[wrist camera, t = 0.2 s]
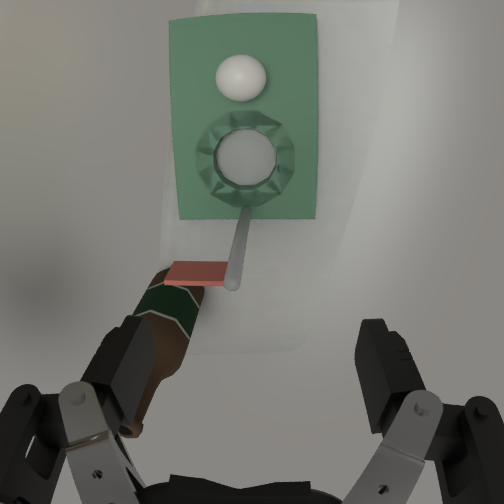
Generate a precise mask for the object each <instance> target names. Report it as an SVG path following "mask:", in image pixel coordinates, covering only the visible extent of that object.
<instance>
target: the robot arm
mask: <svg viewBox="0 0 504 504" xmlns="http://www.w3.org/2000/svg"><path fill="white" fill-rule="evenodd" d="M155 359H156V346H155V342H154V338H153V335H152V331H151V327H150V323H149V320H148V318H147V317H146V316H134V315H128V316H126V318H125V320H124V322H123V323H122V325H121V327H115V328H114V329H112V330H111V331H110V332H109V333H108V334H107V335H106V336H105V338H104V339H103V341H102V342H101V346H99V348H98V350H97V351H96V354H95V355H94V356H93V358H92V360H91V362H90V364H89V365H88V367H87V369H86V371H85V373H84V374H83V377H82V378H81V380H80V381H78V382H73V383H70V384H68V385H67V386H66V387H64V388H63V390H62V391H61V392H60V393H59V394H42V395H41V393H40V392H39V390H38V389H37V387H36V386H34V385H31V384H24V385H21V386H19V387H17V388H16V389H15V390H14V391H13V392H12V393H11V395H10V397H9V398H8V400H7V402H6V404H5V406H4V407H3V409H2V411H1V413H0V504H51V500H52V497H53V494H54V490H55V488H56V484H57V481H58V478H59V475H60V472H61V469H62V466H63V463H64V461H65V458H66V456H67V459H68V463H69V466H70V469H71V473H72V475H73V479H74V482H75V485H76V488H77V490H78V493H79V496H80V499H81V501H82V504H406V502H407V500H408V498H409V496H410V494H411V492H412V490H413V488H414V486H415V484H416V482H417V481H418V478H419V476H420V474H421V472H422V470H423V468H424V465H425V462H424V461H423V460H432V461H434V462H435V466H436V471H437V475H438V480H439V485H440V490H441V496H442V501H443V504H504V423H503V420H502V418H501V415H500V413H499V411H498V408H497V407H496V405H495V403H493V401H491V400H490V399H488V398H486V397H483V396H475V397H472V398H471V399H469V400H468V401H467V403H466V404H465V406H460V405H450V404H444V403H442V402H441V400H440V399H439V397H438V396H436V395H435V394H434V393H432V392H429V391H427V390H426V388H425V386H424V383H423V381H422V379H421V376H420V374H419V371H418V369H417V367H416V364H415V362H414V360H413V358H412V355H411V353H410V352H409V348H408V346H407V344H406V342H405V340H404V339H403V338H402V337H401V336H400V335H399V334H398V333H397V332H396V331H390V332H389V331H388V328H387V326H386V324H385V321H384V320H383V319H364V320H363V321H362V323H361V327H360V331H359V336H358V340H357V344H356V348H355V366H356V369H357V373H358V377H359V381H360V385H361V389H362V393H363V397H364V402H365V406H366V410H367V414H368V418H369V423H370V428H371V432H372V434H375V433H382V436H383V440H382V442H381V444H380V445H379V447H378V449H377V450H376V452H375V454H374V456H373V457H372V459H371V460H370V462H369V464H368V465H367V467H366V468H365V470H364V471H363V473H362V474H361V476H360V478H359V479H358V480H357V482H356V483H355V485H354V486H353V488H352V489H351V491H350V492H349V493H348V495H347V496H346V498H345V499H344V500H343V501H341V500H340V499H338V498H337V497H335V496H333V495H331V494H328V493H326V492H323V491H319V490H315V489H311V487H310V486H311V485H310V481H304V482H274V483H269V484H265V485H260V486H255V487H249V488H243V489H236V488H232V487H229V486H225V485H222V484H219V483H216V482H212V481H209V480H206V479H203V478H194V477H186V476H178V475H172V474H171V475H170V479H169V482H164V483H158V484H154V485H151V486H148V487H146V485H145V484H144V482H143V480H142V479H141V477H140V475H139V474H138V472H137V470H136V468H135V466H134V464H133V462H132V460H131V458H130V456H129V454H128V451H127V449H126V447H125V445H124V443H123V441H122V438H121V436H120V434H119V432H118V430H119V428H120V425H121V424H123V425H128V426H131V425H132V422H133V420H134V417H135V414H136V411H137V408H138V405H139V403H140V400H141V397H142V394H143V392H144V389H145V386H146V383H147V381H148V378H149V375H150V373H151V370H152V367H153V365H154V362H155ZM33 436H34V437H35V438H34V441H33V443H32V446H31V448H30V450H29V452H28V455H27V457H26V458H25V456H26V452H27V449H28V447H29V444H30V442H31V440H32V437H33Z"/></svg>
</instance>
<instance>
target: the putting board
mask: <svg viewBox="0 0 504 504" xmlns="http://www.w3.org/2000/svg"><path fill="white" fill-rule="evenodd" d="M240 54H241V55H248V56H251V57H253V58H255V59H257V60H258V61H259V62H260V63H261V64H262V66H263V67H264V70H265V73H266V83H265V86H264V88H263V90H262V91H261V93H260V94H259V95H258V96H256V97H255V98H253V99H251V100H248V101H242V102H238V101H233V100H230V99H228V98H226V97H225V96H224V95H223V94H222V93H221V92H220V91H219V89H218V88H217V85H216V80H215V76H216V72H217V69H218V67H219V65H220V64H221V63H222V62H223V61H224V60H225V59H227V58H229V57H231V56H234V55H240ZM169 62H170V63H169V65H170V96H171V116H172V133H173V148H174V161H175V174H176V185H177V196H178V206H179V216H180V220H193V219H239V220H238V224H237V228H236V232H235V236H234V240H233V244H232V248H231V252H230V256H229V260H228V262H199V261H174V262H173V264H172V266H171V268H170V270H169V272H168V273H167V275H166V277H165V279H164V284H165V285H186V286H224V287H225V288H226V289H227V290H229V291H235V290H237V289H238V288H239V287H240V281H241V275H242V268H243V262H244V255H245V249H246V242H247V236H248V230H249V223H250V219H315V206H316V183H317V149H318V58H317V27H316V14H302V13H240V14H223V15H211V16H202V17H193V18H185V19H178V20H171V21H169ZM250 128H253V129H255V130H256V131H258V132H260V133H262V134H264V135H266V136H267V137H268V138H269V139H270V141H271V143H272V144H273V146H274V148H275V149H276V166H275V167H274V169H273V171H272V172H271V174H270V176H269V177H268V178H267V179H265V180H264V181H262V182H260V183H258V184H256V185H255V186H238V185H236V184H235V183H233V182H231V181H229V180H227V179H225V178H224V176H223V175H222V173H221V172H220V170H219V169H218V167H217V165H216V148H217V147H218V145H219V143H220V141H221V139H222V137H223V136H224V135H226V134H228V133H229V132H231V131H233V130H234V129H250Z"/></svg>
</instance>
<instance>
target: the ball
mask: <svg viewBox="0 0 504 504" xmlns="http://www.w3.org/2000/svg"><path fill="white" fill-rule="evenodd" d="M215 80H216V85H217V88H218V89H219V91H220V92H221V93H222V94H223V95H224V96H225V97H226V98H228V99H230V100H233V101H238V102H242V101H248V100H251V99H253V98H255V97H256V96H258V95H259V94H260V93H261V91H262V90H263V88H264V86H265V83H266V73H265V70H264V67H263V66H262V64H261V63H260V62H259V61H258V60H257V59H255V58H253V57H251V56H248V55H241V54H240V55H234V56H231V57H229V58H227V59H225V60H224V61H223V62H222V63H221V64H220V65H219V67H218V69H217V72H216V76H215Z"/></svg>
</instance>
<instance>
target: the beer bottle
mask: <svg viewBox="0 0 504 504" xmlns="http://www.w3.org/2000/svg"><path fill="white" fill-rule="evenodd" d="M169 270H170V268H169V269H166V270H164V271H161V272H159V273H157V275H156V276H155V277H154V278H153V280H152V282H151V283H150V285H149V287H148V288H147V290H146V292H145V293H144V295H143V297H142V299H141V301H140V302H139V304H138V306H137V307H136V309H135V311H134V313H133V314H132V315H134V316H146V317H147V318H148V320H149V323H150V327H151V331H152V335H153V338H154V342H155V346H156V359H155V362H154V365H153V367H152V370H151V373H150V375H149V378H148V381H147V383H146V386H145V389H144V392H143V394H142V397H141V400H140V403H139V405H138V408H137V411H136V414H135V417H134V420H133V422H132V425H131V426H128V425H123V424H121V425H120V428H119V430H118V432H119V434H120V436H123V437H125V438H138V437H139V435H140V434H141V433H142V430H143V424H142V421H143V419H144V416H145V414H146V412H147V409H148V407H149V405H150V402H151V400H152V397H153V395H154V393H155V390H156V388H157V387H158V385H159V384H160V382H161V381H162V380H163V379H165V378H167V377H169V376H171V375H173V374H174V373H175V372H176V371H177V370H178V369H179V368H180V366H181V363H182V361H183V359H184V356H185V353H186V350H187V347H188V344H189V341H190V338H191V334H192V331H193V328H194V324H195V321H196V318H197V315H198V311H199V308H200V305H201V302H202V299H203V295H204V288H203V287H202V286H186V285H165V284H164V279H165V277H166V275H167V273H168V272H169Z"/></svg>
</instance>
